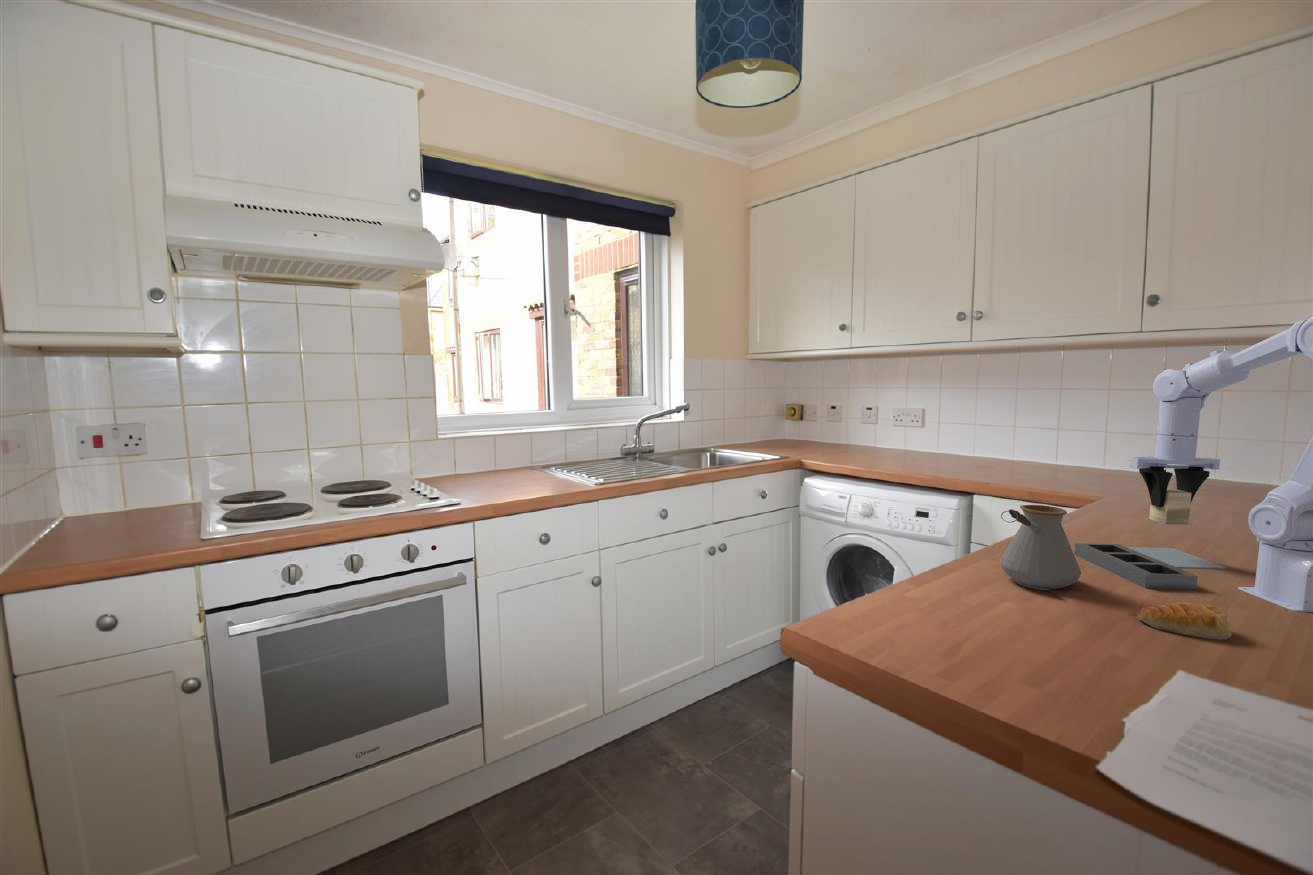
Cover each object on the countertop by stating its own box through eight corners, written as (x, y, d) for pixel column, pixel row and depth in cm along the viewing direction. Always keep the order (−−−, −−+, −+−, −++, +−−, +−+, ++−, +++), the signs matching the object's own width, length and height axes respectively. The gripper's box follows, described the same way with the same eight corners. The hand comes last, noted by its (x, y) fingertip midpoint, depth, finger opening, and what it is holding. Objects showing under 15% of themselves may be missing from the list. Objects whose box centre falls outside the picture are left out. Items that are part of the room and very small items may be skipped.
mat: (1226, 570, 106) (1226, 567, 106) (1156, 569, 106) (1156, 566, 106) (1172, 550, 118) (1172, 547, 117) (1109, 549, 118) (1110, 546, 118)
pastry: (1149, 633, 81) (1152, 607, 80) (1128, 615, 87) (1130, 590, 87) (1236, 644, 78) (1239, 616, 77) (1207, 624, 84) (1210, 598, 83)
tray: (1196, 591, 96) (1197, 575, 95) (1144, 590, 96) (1145, 574, 96) (1117, 557, 113) (1118, 544, 113) (1074, 556, 114) (1075, 543, 114)
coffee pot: (1013, 567, 108) (1019, 486, 106) (1088, 584, 99) (1096, 497, 97) (963, 595, 94) (968, 503, 92) (1045, 618, 85) (1053, 517, 84)
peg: (1188, 524, 109) (1191, 492, 108) (1165, 524, 109) (1168, 492, 109) (1170, 519, 113) (1173, 488, 112) (1149, 519, 113) (1152, 488, 113)
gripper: (1199, 432, 113) (1192, 502, 114) (1120, 432, 114) (1114, 501, 115) (1233, 436, 106) (1225, 510, 107) (1148, 436, 107) (1142, 509, 108)
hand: (1170, 506), depth 111 cm, fingers closed on peg, 4 cm apart
